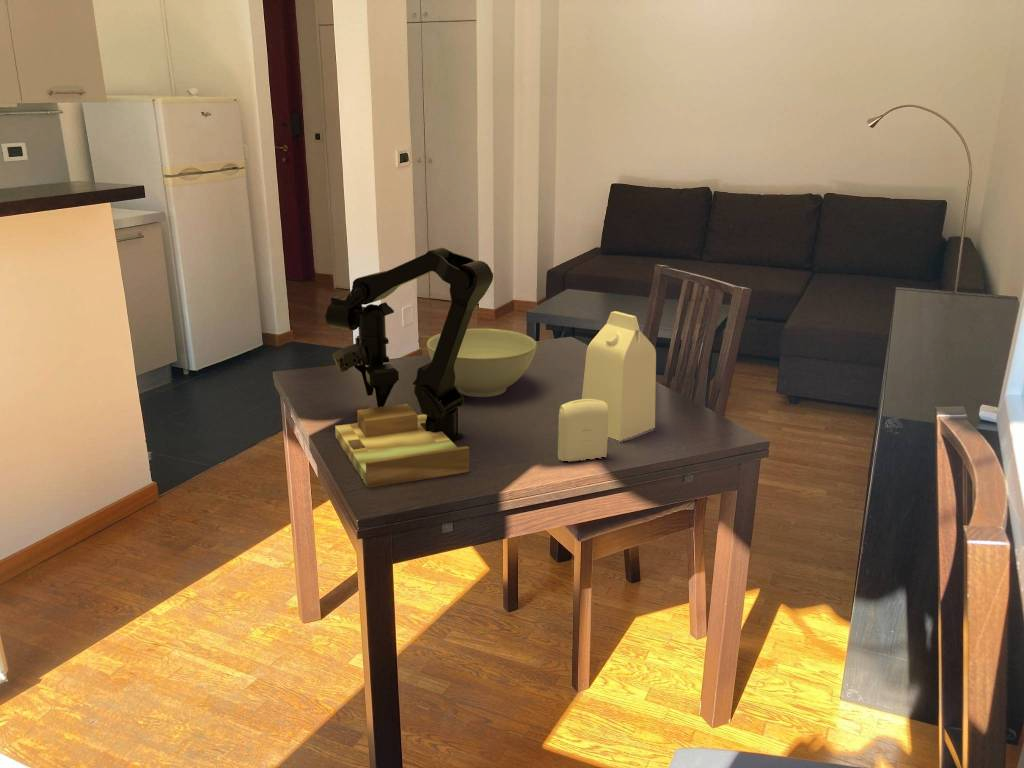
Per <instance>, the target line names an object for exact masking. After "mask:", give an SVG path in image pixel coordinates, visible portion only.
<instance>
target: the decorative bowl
mask: <svg viewBox="0 0 1024 768" xmlns="http://www.w3.org/2000/svg"><path fill="white" fill-rule="evenodd" d="M440 335H441V333H437V334H436V335H432V336H431V337H430V338H429V339H428V340H427V342H426V348H427V352H428V354H429V358H430V359H431V361H432V359H433V356H434V353H435V350H436V347H437V344H438V341H439V338H440ZM537 345H538V344H537V341H536V340H535V339H534V338H533V337H531V336H529V335H527V334H524V333H521V332H517V331H513V330H507V329H498V328H467V330H466V333H465V335H464V338H463V341H462V344H461V347H460V350H459V353H458V355H457V358H456V361H455V364H454V372H455V383H454V386H455V387H456V388H457V389H458V391H459V392H460V393H461V394H462V395H465V396H468V397H474V398H489V397H490V398H491V397H495V396H499V395H502V394H504V393H506V391H507V388H508V387H511V385H513V384H514V383H516V382H517V381H518V380H519V379H520V378H521V377H522V376H523V375H524V374H525V373H526V371H527V370H528V368H529V367H530V365H531V364H532V361H533V358H534V356H535V354H536V350H537Z"/></svg>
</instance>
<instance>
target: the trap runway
mask: <svg viewBox="0 0 1024 768" xmlns="http://www.w3.org/2000/svg"><path fill="white" fill-rule="evenodd" d="M417 419H418V430H415V431H407V432H400V433H393V434H386V435H379V436H371V437H366V436H365V435H364V434H363V432H362V431H361V429H360V428H359V427H358V422H354V423H349V424H348V423H347V424H340V425H334V429H335V438H336V440H337V441H339V442H338V443H339V445H340V446H341V448H342V449H343V452H344V453H345V455H346V456H347V457H348V459H349V460H350V462H351V464H352V466H353V467H354V468H355V470H356V471H357V473H358V475H359V477H360V478H361V480H362V479H363V480H362V481H363V483H364V485H365V486H366V488H367V489H371V487H372V488H376V487H377V488H378V487H384V486H391V485H396V484H401V483H408V482H415V481H416V482H417V481H421V480H427V479H434V478H439V477H444V476H451V475H458V474H464V473H469V472H470V447H469V446H467V445H466V446H465V445H464V446H459V447H458V446H457V445H456V444H455V443H454V442H453V441H451V440H450V439H449V438H448V437H447V436H446V435H445V434H444V433H443V432H436V433H433V432H430V431H426V419H427V415H424V414H422V413H421V414H417Z"/></svg>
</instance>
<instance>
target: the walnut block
mask: <svg viewBox="0 0 1024 768" xmlns="http://www.w3.org/2000/svg"><path fill="white" fill-rule="evenodd" d="M356 415H357V423H358V427H359V428H360V429H361V431H362V432H363V434H364V435H365V436H366V437H371V436H379V435H386V434H393V433H400V432H407V431H415V430H418V419H417V415H418V414H417V412H416V411H415V410H414V409H413V408H412V407H411V406H410V405H409V403H403V404H395V405H387V406H384V407H372V408H371V407H370V408H365V409H363V408H362V409H357V410H356Z"/></svg>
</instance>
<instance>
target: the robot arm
mask: <svg viewBox="0 0 1024 768" xmlns="http://www.w3.org/2000/svg"><path fill="white" fill-rule="evenodd" d="M432 272H434V273H436V275H437V276H438V277H439V278H440V280H442V281H444V282H445V283H446V284H449V295H450V296H449V297H450V302H451V303H450V305H449V308H448V312H447V314H446V318H445V320H444V323H443V326H442V329H441V335H440V338H439V341H438V344H437V347H436V350H435V353H434V356H433V359H432V360H431V361H430V362H428V363H426V364H424V365H422V366H420V367H418V369H417V371H416V378H415V380H414V381H413V383H412V385H413V386H414V389H413V392H414V393H413V395H415V396H416V399H417V402H418V405H419V407H420V411H421V415H422V414H424V415H427V419H426V431H430V432H433V433H436V432H443V433H444V434H445V435H446V436H447V437H448V438H449V439H450V440H451V441H452V442H453V441H456V440H459V439H462V438H463V437H464V434H463V433H460V432H459V408H460V407H462V406H463V404H464V401H465V397H464V396H463V394H461V393H460V392H459V391H458V389H457V387H456V386H454V383H455V372H454V364H455V361H456V358H457V355H458V353H459V350H460V347H461V344H462V341H463V338H464V335H465V333H466V330H467V329H468V326H469V323H470V320H471V319H472V315H473V312H474V310H475V307H476V306H477V305H478V304H479V302H480V301H481V300H482V299H483V298H484V296H485V295H486V293H487V292H488V290H489V288H490V287H491V285H492V283H493V279H494V273H493V271H492V269H491V267H490V266H489V264H488V263H487V262H485V261H483V260H474V259H473V258H471V257H468V256H464V255H462V254H460V253H459V254H458V253H455V252H452V251H451V250H449V249H447V248H445V247H438V248H434V249H430V250H428V251H427V252H426V253H425V254H422V255H420V256H417V257H415V258H414V259H411V260H408V261H407V262H405V263H402V264H400V265H398V266H395V267H393V268H391V269H388V270H385V271H384V270H383V271H379V272H374V273H371V274H367V275H364V276H359V277H357V278H355V279H354V280H353V282H352V287H351V290H350V292H349V293H348V295H347V297H342V296H339V295H336V296H332V297H330V304H328V307H327V309H326V313H325V315H324V317H325V322H326V324H327V326H329V327H330V328H336V329H341V330H349V331H356V330H357V329H358V335H356V337H355V343H353V344H351V345H348V346H345V347H343V348H341V349H339V350H337V351H335V352H333V353H332V354H331V355H332V358H333V360H334V363H335V365H336V367H337V368H338V370H339V371H340V372H341V373H342V372H345V371H348V369H351V368H352V367H354V368H355V369H356V370H357V371H358V372H359V373H360V376H361V379H362V383H363V386H364V390H365V392H366V396H368V397H369V396H370V397H371V396H373V393H374V398H375V402H376V403H375V404H376V406H377V407H376V408H378V407H385V405H386V403H387V400H388V398H389V396H390V394H391V392H392V390H393V387H394V386H395V384H396V383H398V381H399V380H400V379H399V378H400V375H399V374H400V373H399V371H398V370H397V369H396V368H395V366H393V365H392V364H391V363H389V362H390V357H389V356H388V355H387V344H389V343H390V342H389V338H388V337H387V336H386V335H387V331H386V330H387V329H386V328H387V327H386V316H389V315H392V314H394V313H395V310H394V309H393V308H392V307H391V306H389V304H388V303H387V302H386V301H385V302H382V303H379V304H373V303H374V302H378V301H381V300H385V299H386V298H387V297H388V296H390V295H391V294H393V293H394V292H395V291H396V290H397V289H398V288H399V287H401V286H403V285H405V284H407V283H409V282H412V281H414V280H416V279H419V278H421V277H423V276H426V275H428V274H430V273H432ZM363 305H366V306H363Z"/></svg>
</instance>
